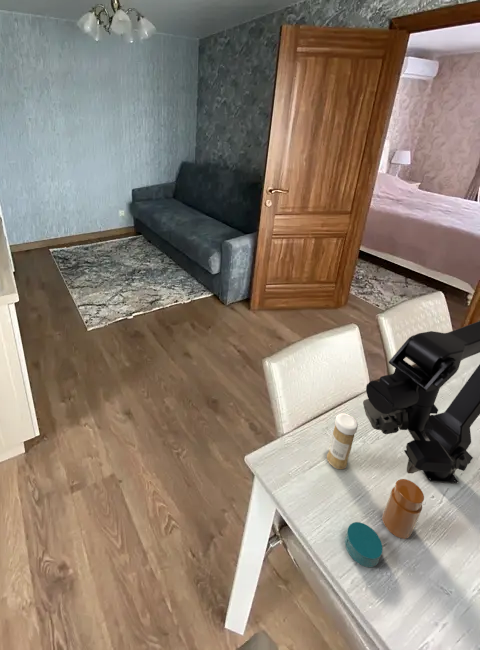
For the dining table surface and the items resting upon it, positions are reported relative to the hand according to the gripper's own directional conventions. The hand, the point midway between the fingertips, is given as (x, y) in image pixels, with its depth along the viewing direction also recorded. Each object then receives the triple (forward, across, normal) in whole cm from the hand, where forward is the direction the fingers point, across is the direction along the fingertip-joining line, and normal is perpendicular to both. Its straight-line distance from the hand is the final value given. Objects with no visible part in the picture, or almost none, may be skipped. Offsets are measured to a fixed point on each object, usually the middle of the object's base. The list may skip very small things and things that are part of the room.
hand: (397, 451), depth 73 cm
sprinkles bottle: (+13, -6, -8) cm, 17 cm away
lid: (+13, +12, -10) cm, 20 cm away
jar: (+13, +7, -1) cm, 14 cm away
